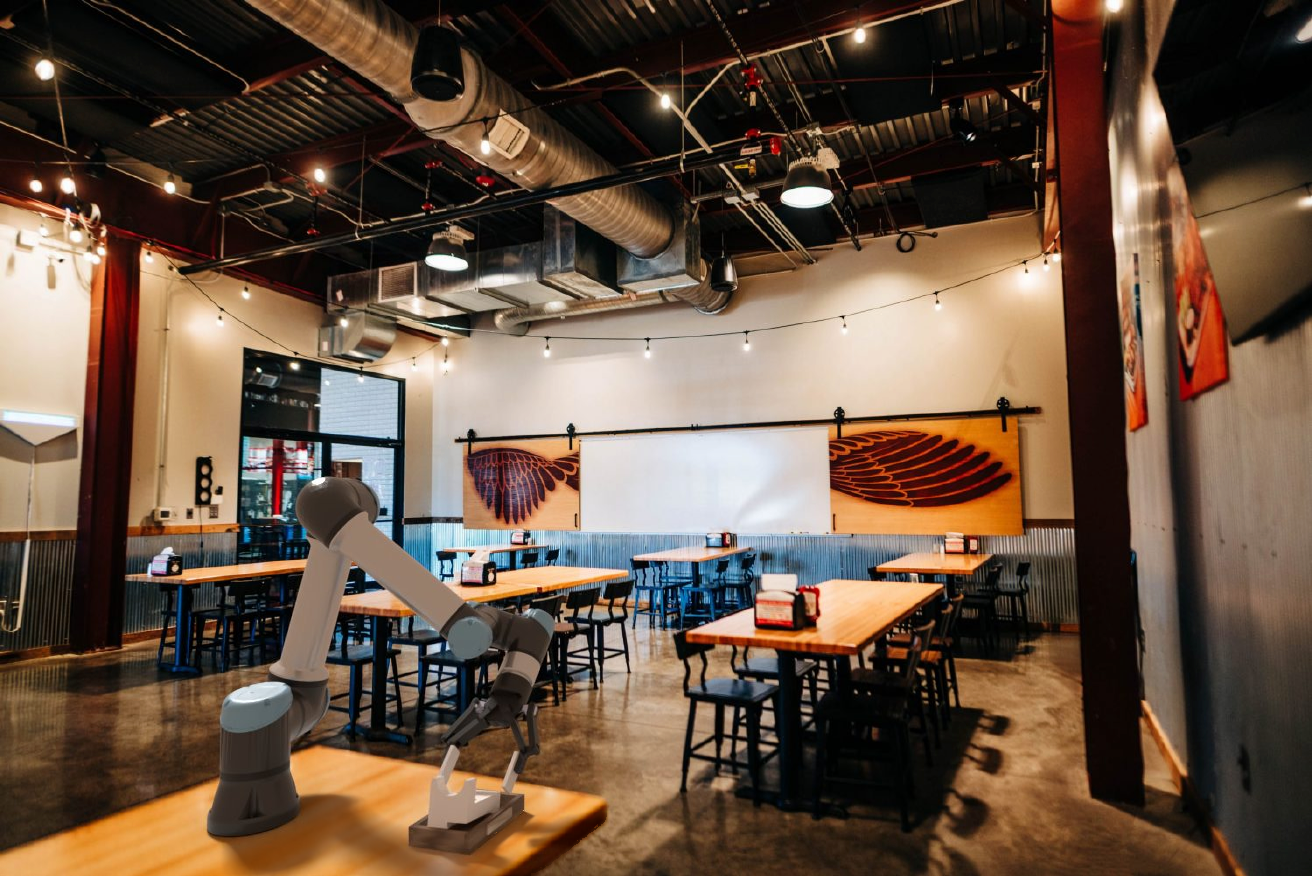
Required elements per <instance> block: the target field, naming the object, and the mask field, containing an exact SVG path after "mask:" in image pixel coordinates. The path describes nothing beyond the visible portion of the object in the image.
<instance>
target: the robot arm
mask: <svg viewBox="0 0 1312 876" xmlns="http://www.w3.org/2000/svg"><path fill="white" fill-rule="evenodd" d="M380 510H381V502H380V498H379V496H378V494H377V492H376V491H375V490H374V488H372V486H371V485H370V484H367V483H366V482H364V481H362V480H359V479H356V478H352V477H351V478H350V477H335V476H324V477H318V478H315V479H314V480H313V479H312V480H311V481H310V482H308V483H306V485H304V487H303V488H302V489H301V490H300V491H299V493H298V494H297V497H296V501H295V514H296V517H297V520H298V522H299V524H300V525H301V526H302V528H304V529H305V530H306V533H305V539H307V541H308V543H309V544H310V548H309V553H308V557H307V560H306V563H305V567H304V570H303V574H302V578H301V581H300V585H299V588H298V594H297V596H296V600H295V604H294V608H293V611H292V616H291V619H290V621H289V626H288V630H287V633H286V636H285V641H284V644H283V649H282V652H281V656H280V659H279V660H278V661H276V662H274V663H273V664H271V665H270V666H269V668H268V669H269V670H268V673H267V676H266V681H264V682H258V683H253V684H250V685H249V686H243V687H241V688H238V689H236V690H234V691H232V692H230V693H229V694H228V695H227V696H226V697H225V698H224V699H223V702H222V705H221V713H220V714H219V715H220V716H219V724H220V735H219V739H220V741H219V743H220V744H219V779H218V781H219V782H218V785H217V788H216V792H215V795H214V797H213V801H212V805H211V807H210V809H209V811H208V813H207V816H206V830H207V832H208V833H210V834H211V835H215V836H221V837H238V836H246V835H247V836H249V835H252V834H258V833H262V832H265V831H269V830H272V829H275V828H277V827H280V826H282V825H285V824H286V823H289V822H291V821H292V820H293V819H295V818H296V817H297V816H298V815H299V814H300V810H301V809H300V803H301V802H300V795H299V794H298V792H297V788H296V787H297V786H296V785H295V780H294V778H293V775H292V771H291V747H292V746H291V745H292V742H293V741H294V740H296V739H297V738H299V737H301V736H302V735H304V734H305V733H307V732H309V731H310V730H312V729H313V728H314V727H315V726H316V725H318V724H319V722H320V721H321V720H322V719H323V718H324V717H325V715H326V713H327V711H328V709H329V706H330V701H331V692H330V688H329V686H328V683H329V680H330V672H329V670H328V669H327V667H326V661H327V656H328V653H329V650H330V646H331V641H332V639H333V634H334V631H335V627H336V624H337V623H336V622H337V619H338V616H339V611H340V608H341V604H342V600H343V597H344V594H345V589H346V586H347V582H348V578H349V574H350V570H351V566H352V563H354V564H355V565H356V566H357V567H359V568H360V569H361V570H362V571H363V572H365V573H366V574H367V575H368V576H370V577H371V579H373V580H374V581H375V582H377V583H378V584H379V585H380V586H382V587H383V588H384V589H385V590H386V591H388V592H389V593H390V594H391V595H392V596H393V597H395V598H396V599H397V600H398V601H400V602H401V603H402V604H404V606H405V607H407V608H408V609H409V610H411V611H412V613H414V614H415V615H416V616H417V617H419V618H420V619H421V620H422V621H423V622H425V623H426V624H427V625H428V626H430V627H431V628H432V629H433V630H434V631H435V632H437V633H438V634H439V635H440V636H442V637H443V638H444V639H445V640H446V641H447V644H448V647H449V650H450V651H451V652H452V654H453V655H454V656H456V657H457V658H460V659H462V660H469V659H470V660H471V659H474V658H477V657H479V656H482V654H484V653H485V652H487V651H488V650H489V648H490V647H494V648H497V649H498V650H501V651H506V653H505V656H504V659H503V660H502V663H501V665H500V668H499V669H498V673H497V675H496V677H495V680H494V682H493V684H492V687H491V689H490V693H489V697H488V699H486V701H482V700H479V698H478V697H474V698H473V699H472V701H471V702H470V704H469V706H468V707H467V708H466V710H465V711H464V712H463V713H461V715H460V716H459V717H458V718H457V720H455V721H454V722H453V724H452V725H451V726H450V727H449V728H447V730H445V732H444V733H443V734H442V735H441V736H440V741H441V742H442V743H443V745H445V746H446V748H445V750H444V752H443V754H442V756H441V759H440V763H441V766H440V769H439V771H438V774H437V775H436V776H444V782H445V785H446V786H447V785H448V782H449V780H450V778H451V775H452V773H453V771H454V768H455V767H456V764H457V762H458V759H459V756H460V754H461V751H460V748H461V747H463V746H464V745H465V744H467V743H468V742H469V741H470V740H472V739H473V738H474V737H476V736H477V735H478V734H480V733H481V732H482V731H483V730H485V729H489V728H490V727H491V726H492V727H494V728H497V727H498V728H499V727H501V728H508V727H510V729H511V733H512V735H513V737H514V740H515V742H516V745H517V747H518V748H517V750H519V751H516V750H514V751H513V753H512V757H511V760H510V763H509V765H508V767H507V770H506V772H505V776H504V777H503V778H504V779H503V780H502V784H501V788H502V789H503V792H506V793H507V794H511V793H513V789H514V787H515V784H516V781H517V778H518V776H519V775H522V774H523V772H524V770H525V767H526V764H527V762H528V759H529V758H530V757H532V756H540V754H541V747H540V746H541V745H540V739H539V738H540V737H539V728H538V720H537V719H538V715H539V708H538V706H537V705H536V703H535V702H534V701H530V702H529V703H528V701H529V698H530V696H531V693H532V691H533V686H534V685H535V682H536V680H537V677H538V674H539V671H540V668H541V666H542V665H543V664H542V663H543V661H544V658H545V656H546V653H547V651H548V648H549V646H550V643H551V640H552V639H553V634H554V631H555V627H556V625H555V624H556V623H555V620H554V617H553V616H552V615H551V614H549V612H546V611H544V610H543V609H540V608H535V609H534V608H528V609H526V610H525V611H524V612H523V613H522V614H521V615H519V614H514V613H511V612H508V611H504V610H502V609H499V608H496V607H493V606H491V605H487V604H486V603H484V602H478V601H474V600H468V601H466V600H464V599H463V598H462V597H461V596H459V594H457V593H456V592H455V591H453V590H452V589H451V588H450V587H448V586H447V585H446V584H445V583H444V582H443V581H441V580H440V579H439V578H438V577H436V575H434V574H433V573H432V572H431V571H429V569H427V568H426V567H425V566H424V565H422V564H421V563H419V561H418V560H416V559H415V558H414V557H413V556H411V554H409V553H408V552H406V551H405V550H404V549H403V548H402V547H401V546H400V545H399V544H397V543H396V542H395V541H393V540H392V539H391V538H390V537H389V536H388V535H386V534H385V533H384V532H383V531H382V530H380V528H378V527H377V526H376V525H374V524H375V523H376V522H377V520H378V519H379V516H380V514H381V513H380V512H381V511H380ZM527 703H528V704H527ZM523 715H525V718H526V726H527V727H526V728H527V736H528V737H527V738H528V744H527V742H526V739H525V737H524V733H523V732H522V729H521V725H520V723H519V720H518V719H519V718H520V717H521V716H523ZM485 718H486V720H485Z"/></svg>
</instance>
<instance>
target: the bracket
mask: <svg viewBox="0 0 1312 876" xmlns="http://www.w3.org/2000/svg"><path fill="white" fill-rule="evenodd" d="M476 789H477V777H470V778H466V779H465V780H464V781H463V785H462V788H461V789H460V791H458V792H453V791H451V790H450V789H449V788H448V787H447V785H445V782H444V776H437V775H436V776H434V777H431V781H430V791H429V792H430V793H429V803H428V813H427V815H428V825H427V827H435V828H448V827H450V826H452V825H454V824H457V823H463V824H467V823H469V822H471V821H473V820H475V819H477V818H479V817H481V816H483V815H485V814H487V813H489V812H491V811H493V810H495V809H497V808H499V807H500V793H501V792H502V791H501V792H499V790H493V791H485V790H486V789H484V790H476Z"/></svg>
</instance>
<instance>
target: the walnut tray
mask: <svg viewBox="0 0 1312 876" xmlns="http://www.w3.org/2000/svg"><path fill="white" fill-rule="evenodd" d="M476 790H485V791H494V790H492V789H483V788H476ZM498 791H499V790H498ZM499 792H501V793H500V807H499V808H497V809H495V810H493V811H491V812H489V813H487V814H485V815H483V816H481V817H479V818H477V819H475V820H473V821H471V822H469V823H467V824H463V823H457V824H454V825H452V826H450V827H448V828H435V827H427V825H428V814H426V815H425V816H423V817H421V818H420V819H418V820H417V821H415V822H414V823H412V824H410V825H409V826H408V846H412V847H418V848H424V849H430V850H431V849H432V850H437V851H442V852H443V851H444V852H449V853H451V852H452V853H458V854H464V855H471V854H472V853H474V852H475V851H476V850H477V849H479V848H480V847H481V846H483V845H484V844H485V843H486V842H487V841H489V840H490V839H491V838H492V837H494V836H495V835H496V834H497V833H498V831H499V832H500V831H501V830H503V829H504V828H505V827H506V826H508V825H509V824H510V823H511V822H512V821H513V819H514V818H515V817H516V818H517V817H519V816H520V815H521V814H522V813H523V812H522V811H523V810H524V811H525V794H524V793H518V792H517V793H516V792H511V794H507V793H506V792H505V791H501V790H500V791H499ZM521 812H522V813H521ZM520 813H521V814H520ZM519 814H520V815H519ZM518 815H519V816H518ZM516 818H515V819H516ZM515 819H514V820H515ZM505 825H506V826H505ZM504 826H505V827H504ZM503 827H504V828H503ZM496 832H497V833H496ZM495 833H496V834H495ZM493 835H494V836H493ZM489 838H490V839H489ZM488 839H489V840H488Z"/></svg>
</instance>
